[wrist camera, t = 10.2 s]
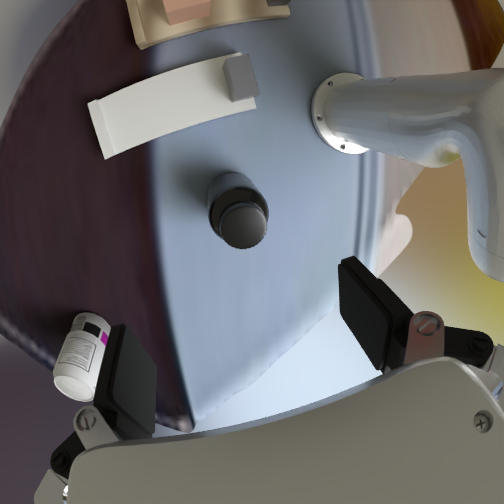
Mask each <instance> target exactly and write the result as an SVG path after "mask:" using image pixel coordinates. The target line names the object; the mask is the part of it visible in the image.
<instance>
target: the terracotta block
mask: <svg viewBox="0 0 504 504" xmlns="http://www.w3.org/2000/svg"><path fill="white" fill-rule="evenodd" d="M163 3H164V7H165V10H166V14H167V17H168V20H169V23H170V26H172V25H175V24H179V23H182V22H186V21H190V20H193V19H198V18H202V17H206V16H209V15H210V6H211V0H163Z"/></svg>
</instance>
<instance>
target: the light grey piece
mask: <svg viewBox="0 0 504 504" xmlns="http://www.w3.org/2000/svg"><path fill="white" fill-rule="evenodd" d="M257 95H260V93H259V90H258V86H257V82H256V78H255V75H254V71H253V68H252V64H251V60H250V57H249V54H246V55H242V54H241V52H240V53H235V54H230V55H226V56H221V57H217V58H213V59H209V60H205V61H201V62H197V63H194V64H190V65H187V66H184V67H180V68H177V69H174V70H171V71H168V72H165V73H162V74H159V75H156V76H154V77H151V78H148V79H146V80H143V81H141V82H138V83H136V84H133V85H131V86H128V87H126V88H124V89H121V90H119V91H117V92H115V93H113V94H110V95H108V96H106V97H104V98H102V99H100V100H94V101H92V102H90V103H88V107H89V111H90V114H91V118H92V121H93V124H94V128H95V131H96V134H97V137H98V140H99V143H100V146H101V149H102V152H103V155H104V158H105V159H107V158H109V157H111V156H114V155H116V154H118V153H120V152H123V151H125V150H127V149H130V148H132V147H135V146H137V145H139V144H142V143H145V142H147V141H150V140H152V139H155V138H158V137H160V136H163V135H166V134H169V133H172V132H174V131H177V130H180V129H183V128H186V127H189V126H193V125H196V124H199V123H202V122H206V121H209V120H213V119H216V118H220V117H223V116H227V115H231V114H235V113H239V112H243V111H247V110H251V109H256V105H255V101H254V97H255V96H257Z"/></svg>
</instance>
